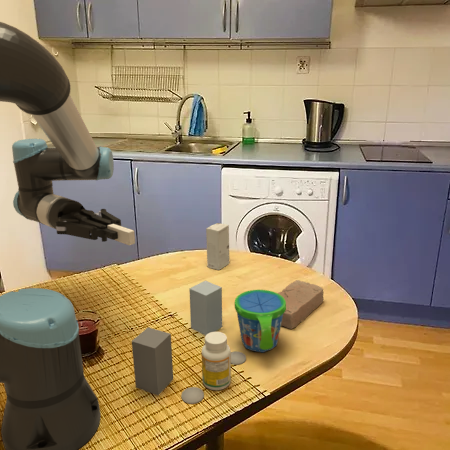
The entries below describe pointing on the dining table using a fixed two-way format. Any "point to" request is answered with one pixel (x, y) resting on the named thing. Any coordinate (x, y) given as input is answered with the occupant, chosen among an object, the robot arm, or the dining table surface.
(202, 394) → the coaster left
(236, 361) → the coaster right
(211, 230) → the skincare box
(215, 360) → the supplement bottle
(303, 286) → the brick
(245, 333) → the snack cup
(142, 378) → the post charcoal
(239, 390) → the dining table surface
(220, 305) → the light grey rectangular block
